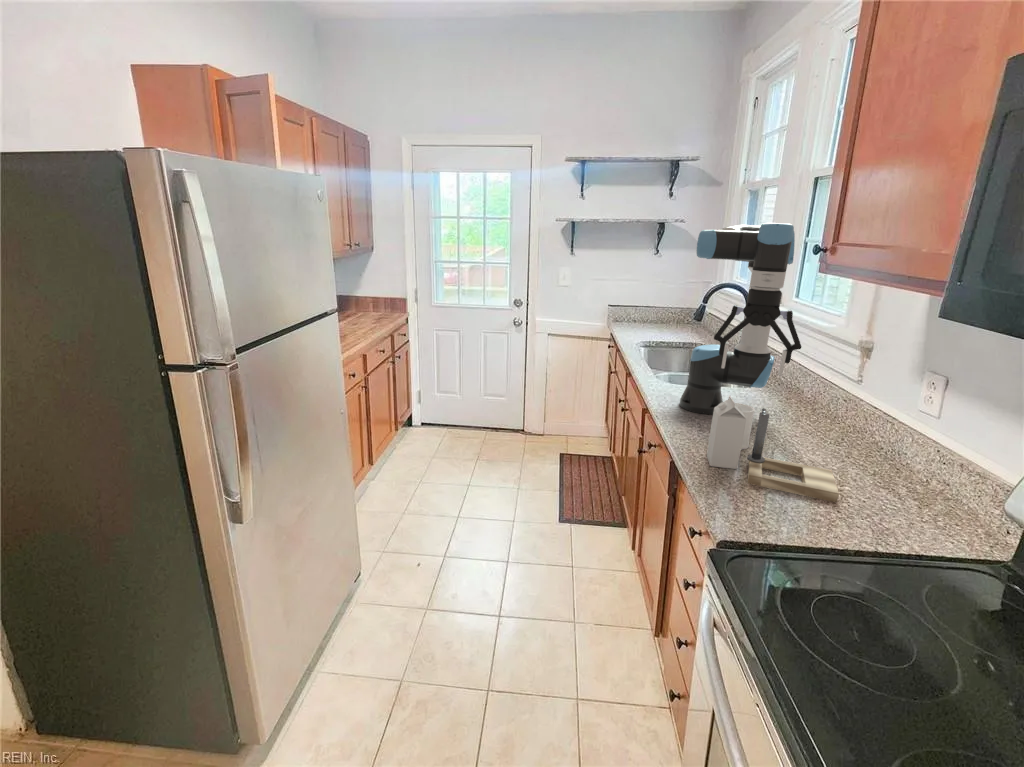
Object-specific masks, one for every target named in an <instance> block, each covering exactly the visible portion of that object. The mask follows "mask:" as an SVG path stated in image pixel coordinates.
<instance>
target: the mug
mask: <svg viewBox="0 0 1024 767" xmlns="http://www.w3.org/2000/svg"><path fill="white" fill-rule="evenodd" d="M735 405H736V406H737V407H738V408H739V409H740V410H741V411H742V413H743V415H744V416H745V418H746V424H745V429H744V435H743V440H742V446H741V450H747V449H748V448H749V447H750V444H749V442H750V438H751V432H752V426H753V420H754V417H755V416H754V415H755V410H756V409H755V407H752V406H751V405H748V404H745V403H740V402H735Z"/></svg>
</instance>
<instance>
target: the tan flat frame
mask: <svg viewBox="0 0 1024 767" xmlns="http://www.w3.org/2000/svg"><path fill="white" fill-rule="evenodd" d="M763 457H764V458H765V462H764V463H754V462H751V461H749V460H748V470H747V484H748V485H753V486H757V487H761V488H767V489H773V490H776V491H780V492H781V491H782V492H785V493H790V494H794V495H800V496H805V497H808V498H809V497H810V498H814V499H818V500H822V501H823V500H824V501H828V502H833V503H838V498H839V495H840V492H839V489H838V485H837V483H836V479H835V477H834V473H833V470H832V469H828V468H822V467H817V466H813V465H812V466H811V465H807V464H802V463H796V462H792V461H786V460H781V459H776V458H770V457H765V456H763ZM763 469H766V470H769V471H776V472H780V473H786V474H791V475H795V476H800V478H801V481H796V480H791V479H787V478H783V477H777V476H771V475H767V474H763Z"/></svg>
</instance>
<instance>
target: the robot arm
mask: <svg viewBox="0 0 1024 767" xmlns="http://www.w3.org/2000/svg"><path fill="white" fill-rule="evenodd" d="M794 228H795V226H794V225H793V224H791V223H780V222H779V223H778V222H777V223H776V222H764V223H762V224H760V225H759V224H757V225H756V224H754V225H753V224H751V225H750V224H738V225H733V226H727V227H723V228H720V229H718V230H717V229H701V231H700V232H699V233H698V237H697V243H696V257H698V258H700V259H706V260H730V261H737V262H747V263H748V264H747V268H748V271H750V272H751V276H750V280H749V281H750V282H749V288H748V292H747V293H748V294H747V298H746V304H745V306H744V307H743V306H738V305H737V304H734V305H733V306H732V309H731V312H730V313H729V315H728V317H727V318H726V319H725V321H724V323H722V325H721V326H720V327H719V329H718V330H717V331H716V333H715V335H714V336H713V340H715V341H717V342H719V344H704V345H703V344H701V345H698V346H696V347H694V348H693V349H692V351H691V356H690V359H689V360H690V363H689V369H688V370H689V371H688V378H687V383H686V384H687V385H686V386H685V388H684V390H683V392H682V395H681V397H680V399H679V406H680V407H681V408H682V409H684V410H686V411H689V412H693V413H695V414H696V413H697V414H702V415H713V412H714V408H715V407H716V406H718V405H719V404H720V403H722V402H724V399H723V395H722V384H728V385H734V386H741V387H746V388H751V389H752V388H757V389H762V388H764V387H765V386H767V383H768V381H769V378H770V376H771V373H772V370H773V367H774V364H775V363H774V362H775V356H774V355H771V354H772V350H771V349H770V347H769V346H768V343H769V338H770V332H771V328H772V330H773V331H774V332H775V334H776V335H777V337H778V338H779V339H780V341H781V343H782V344H783V345H784V346H785V348H783V349H782V353H781V354H782V355H781V359H780V363H779V368H778V377H782V376H783V372H784V368H785V364H790V362H791V359H792V353H793V351H795V350H801V349H802V344H801V341H800V338H799V336H798V332H797V329H796V328H795V324H794V321H793V314H794V313H793V310H792V309H787V310H780V305H781V301H782V295H783V291H782V290H781V289H783V288H784V285H785V279H786V274H787V268H788V265H792V264H793V263H794V258H795V257H794V256H795V241H796V240H795V229H794ZM741 313H743V314H744V317H743V319H742V321H741V322H739V323H738V324H737V325H736V326H735V327H733V328H732V329H730V331H728V333H726V334H725V335H724V336H722V335H723V334H724V332H725V331H726V329H727V328H728V327H729V325H730V324H732V323H731V322H732V321H733V320H734V319H735V317H736V316H738V315H740V314H741ZM780 316H782V319H783V320H786V323H787V325H788V330H789V331H790V335H791V337H792V340H793V343H792V344H791V342H790V341H789V339H788V338H787V336H786V335H785V334H784V332H783V330H782V329H781V328H780V326H779V325H778V323H777V322H776V320H777V319H778V318H780ZM740 331H741V334H740V335H741V336H740V341H739V343H737V344H736V345H735V346H734V347H733V348H734V349H733V351H731V350H729V344H730V343H729V342H728V341H729V340H730V339H732V338H733V337H734V336H735V335H736V334H738V333H739V332H740Z"/></svg>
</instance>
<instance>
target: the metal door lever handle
mask: <svg viewBox="0 0 1024 767" xmlns="http://www.w3.org/2000/svg"><path fill="white" fill-rule="evenodd" d="M769 420H770V413H768V412H767V409H766V408H764V407H763V408H762V409H761V412H759V415H758V421H757V426H756V430H755V436H754V441H753V447H752V451H751V454H748V455H747V456H746V458H747V460H748V462H749V461H751V462H754V463H764V462H765V458H764V457H765V456H763V451H764V445H765V442H766V441H765V440H766V436H767V430H768V425H769Z"/></svg>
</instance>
